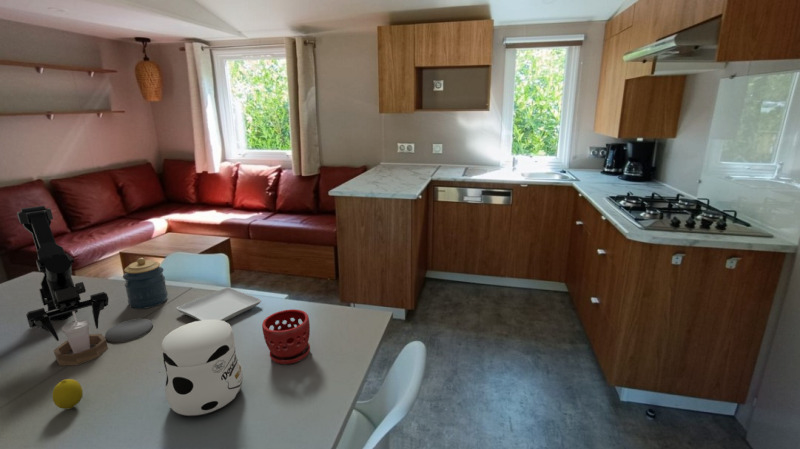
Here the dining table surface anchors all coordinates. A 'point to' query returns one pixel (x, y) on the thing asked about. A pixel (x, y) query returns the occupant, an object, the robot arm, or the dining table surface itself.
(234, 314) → the salad plate
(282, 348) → the plant pot
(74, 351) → the smoothie
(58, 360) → the brown octagonal holder
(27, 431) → the dining table surface
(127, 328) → the rubber mat
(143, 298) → the canister
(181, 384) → the milk container
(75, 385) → the lemon
